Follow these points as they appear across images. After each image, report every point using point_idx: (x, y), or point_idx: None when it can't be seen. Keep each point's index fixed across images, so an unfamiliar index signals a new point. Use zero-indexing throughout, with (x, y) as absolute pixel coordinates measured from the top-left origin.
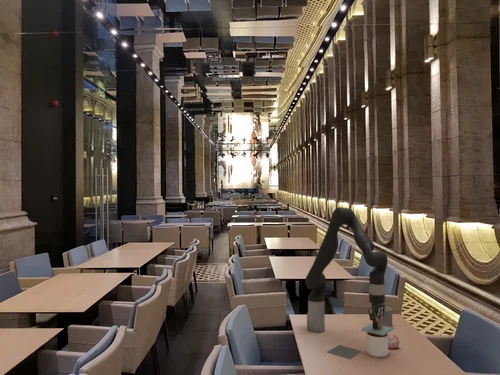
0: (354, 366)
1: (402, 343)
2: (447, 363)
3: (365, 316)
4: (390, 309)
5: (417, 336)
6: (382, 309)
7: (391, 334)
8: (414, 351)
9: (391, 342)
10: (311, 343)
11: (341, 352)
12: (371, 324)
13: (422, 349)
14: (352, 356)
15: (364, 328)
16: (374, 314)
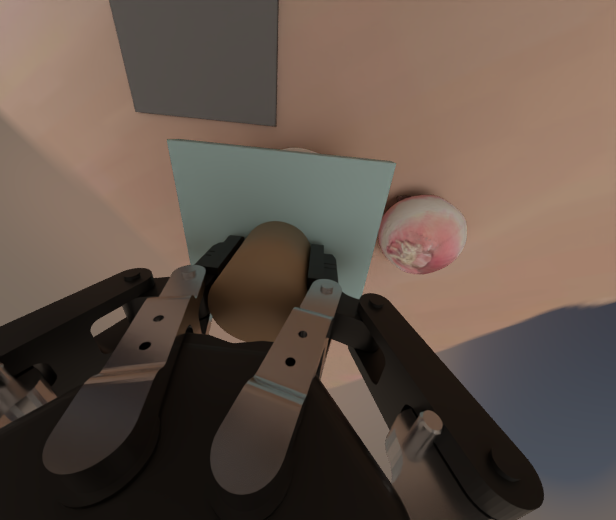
0: (106, 163)
1: (487, 248)
2: (352, 375)
3: None
4: None
5: (611, 277)
6: (394, 418)
7: (424, 258)
8: (406, 301)
9: (382, 250)
10: None
11: (170, 7)
12: (349, 176)
13: (440, 317)
14: (175, 106)
15: (192, 163)
16: (62, 388)
